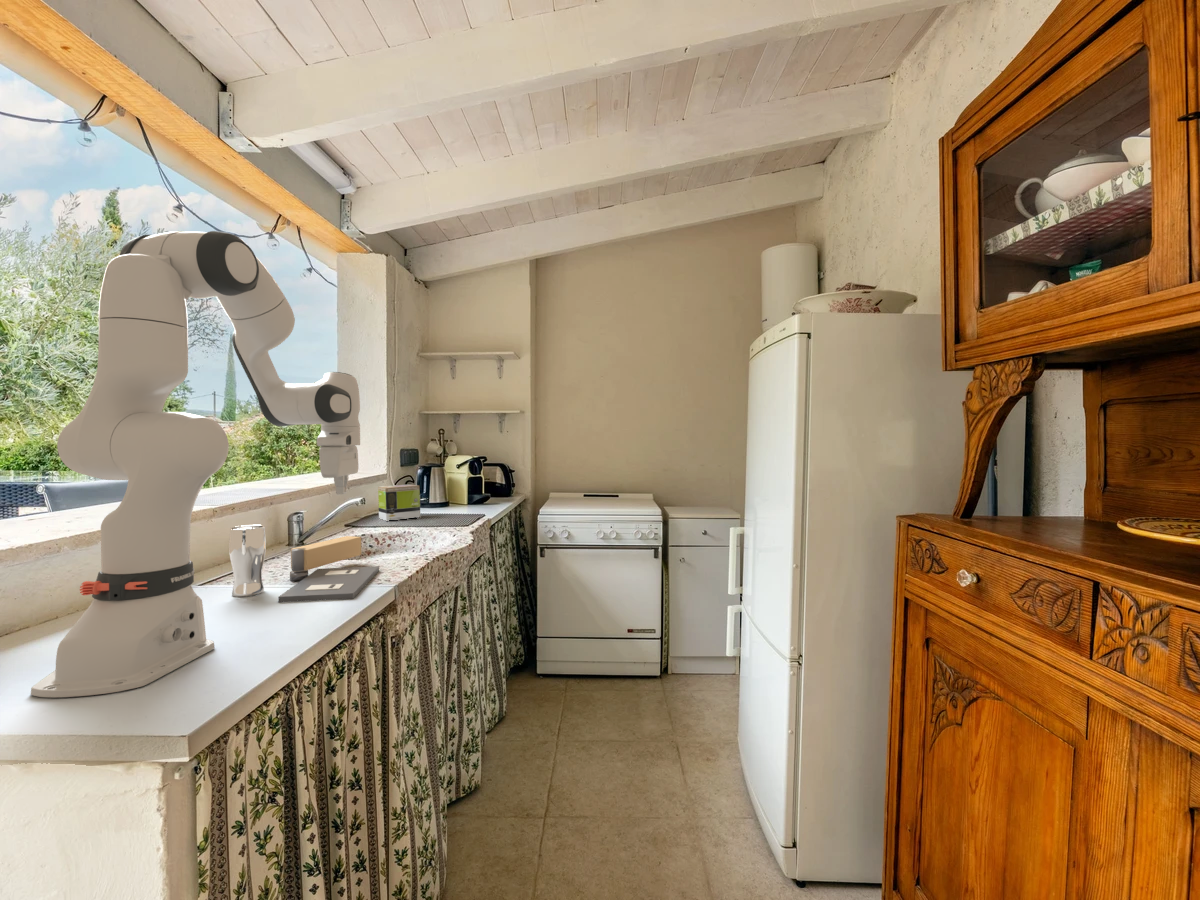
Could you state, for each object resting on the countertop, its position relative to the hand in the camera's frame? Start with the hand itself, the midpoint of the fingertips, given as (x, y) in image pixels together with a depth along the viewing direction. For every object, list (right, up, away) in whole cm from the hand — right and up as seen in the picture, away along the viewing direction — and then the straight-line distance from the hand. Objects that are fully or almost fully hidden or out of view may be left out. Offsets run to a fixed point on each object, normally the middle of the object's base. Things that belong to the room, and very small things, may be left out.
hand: (341, 493), depth 138 cm
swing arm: (-7, -18, +7) cm, 21 cm away
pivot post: (-10, -21, -1) cm, 23 cm away
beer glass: (-15, -22, -14) cm, 29 cm away
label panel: (+1, -21, -7) cm, 22 cm away
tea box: (-23, -20, +103) cm, 107 cm away
